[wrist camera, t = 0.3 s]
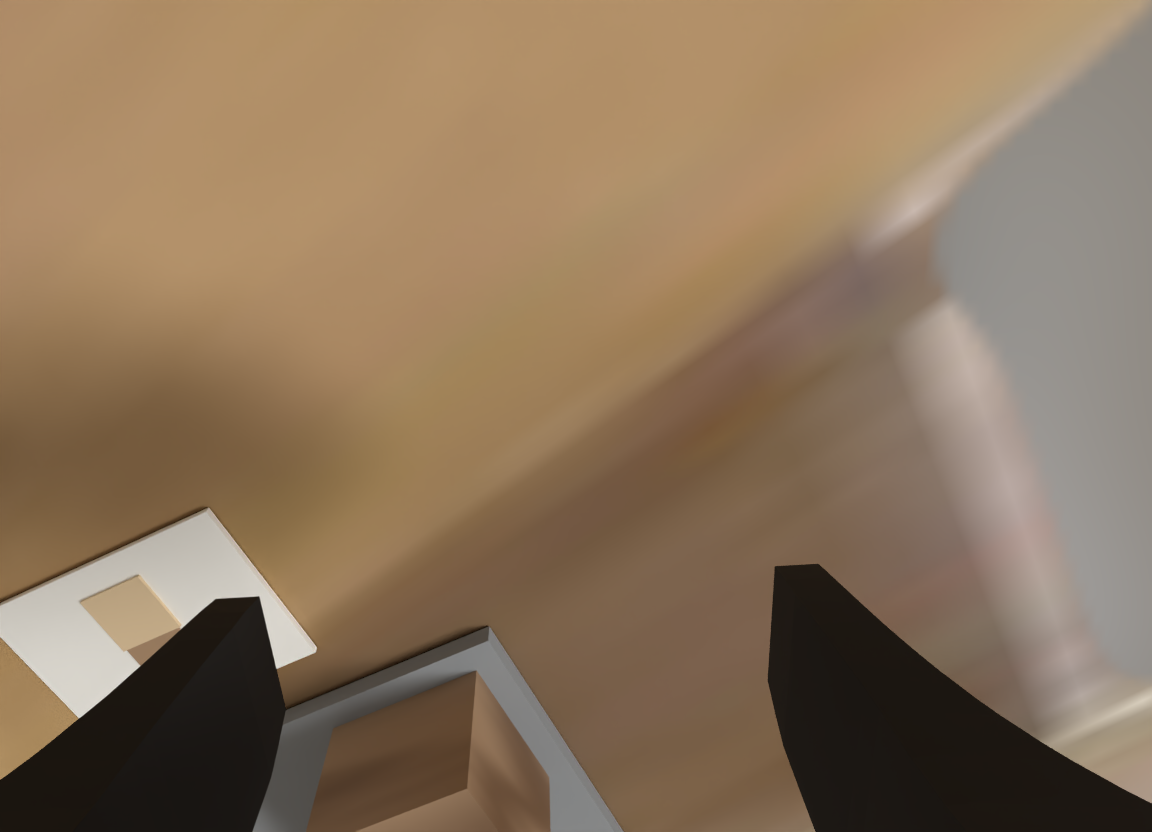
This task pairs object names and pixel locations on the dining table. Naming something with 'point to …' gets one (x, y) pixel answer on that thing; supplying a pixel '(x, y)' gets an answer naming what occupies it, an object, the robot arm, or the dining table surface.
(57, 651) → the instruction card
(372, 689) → the mat
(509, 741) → the walnut block
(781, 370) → the dining table surface
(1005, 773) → the robot arm
